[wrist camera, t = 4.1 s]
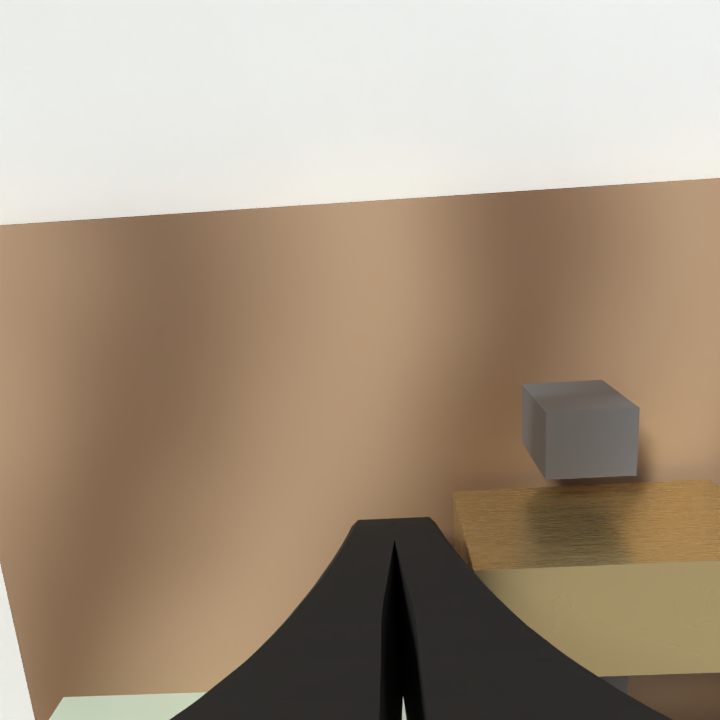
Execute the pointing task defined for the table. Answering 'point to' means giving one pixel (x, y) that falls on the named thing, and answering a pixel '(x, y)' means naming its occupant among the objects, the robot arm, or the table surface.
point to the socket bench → (326, 403)
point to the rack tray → (129, 707)
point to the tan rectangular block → (604, 569)
